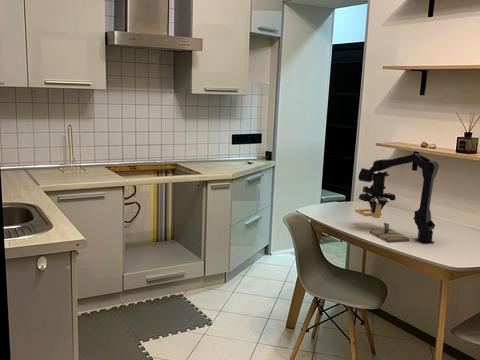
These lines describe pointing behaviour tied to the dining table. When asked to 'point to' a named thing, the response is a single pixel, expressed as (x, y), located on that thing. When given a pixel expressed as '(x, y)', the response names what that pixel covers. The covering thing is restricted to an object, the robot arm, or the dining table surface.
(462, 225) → the dining table surface
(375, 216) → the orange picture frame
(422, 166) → the robot arm
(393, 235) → the hook plate
